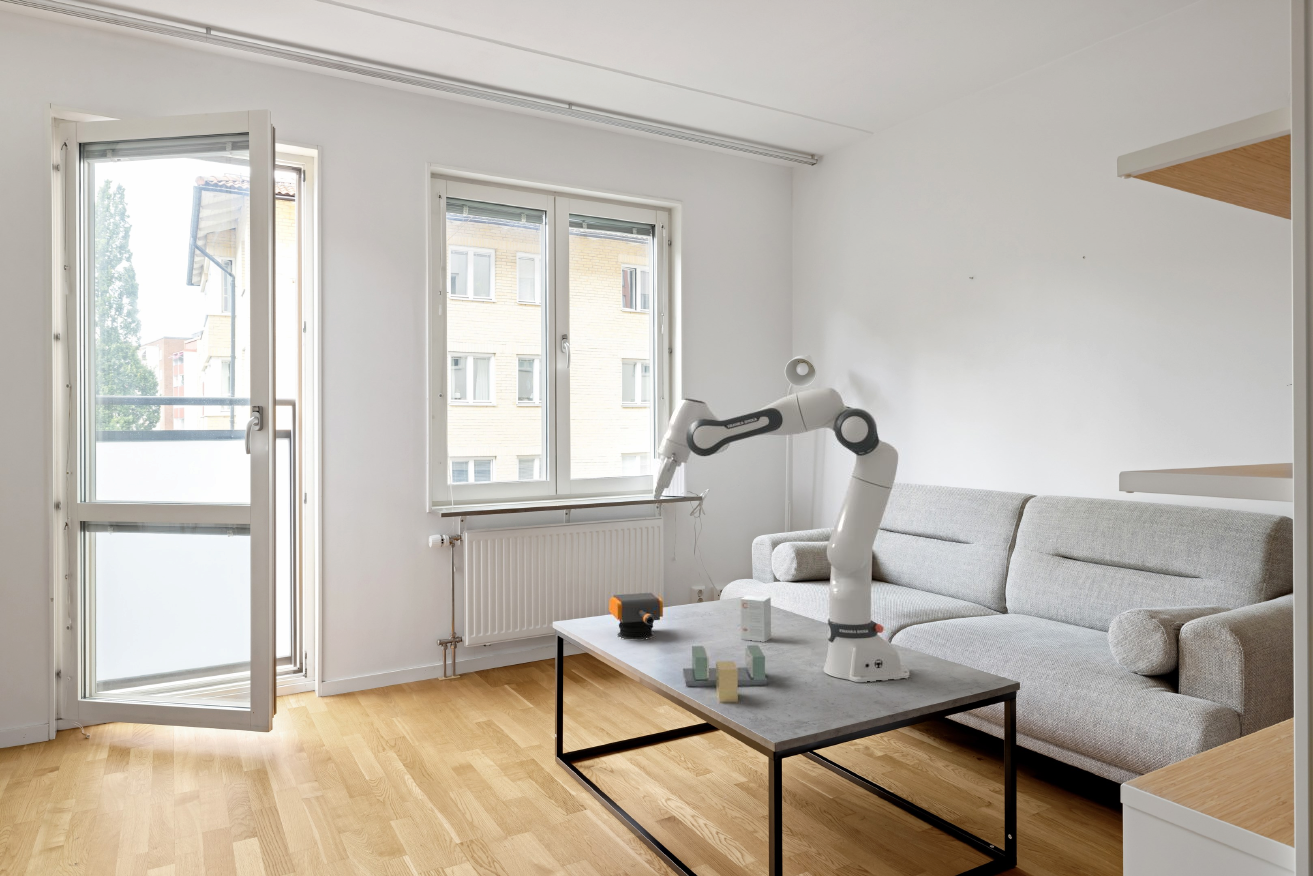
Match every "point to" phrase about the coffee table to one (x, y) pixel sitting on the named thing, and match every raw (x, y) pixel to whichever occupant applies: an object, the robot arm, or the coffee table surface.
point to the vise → (746, 675)
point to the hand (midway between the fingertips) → (656, 496)
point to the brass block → (726, 681)
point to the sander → (636, 614)
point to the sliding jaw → (700, 662)
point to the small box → (755, 618)
